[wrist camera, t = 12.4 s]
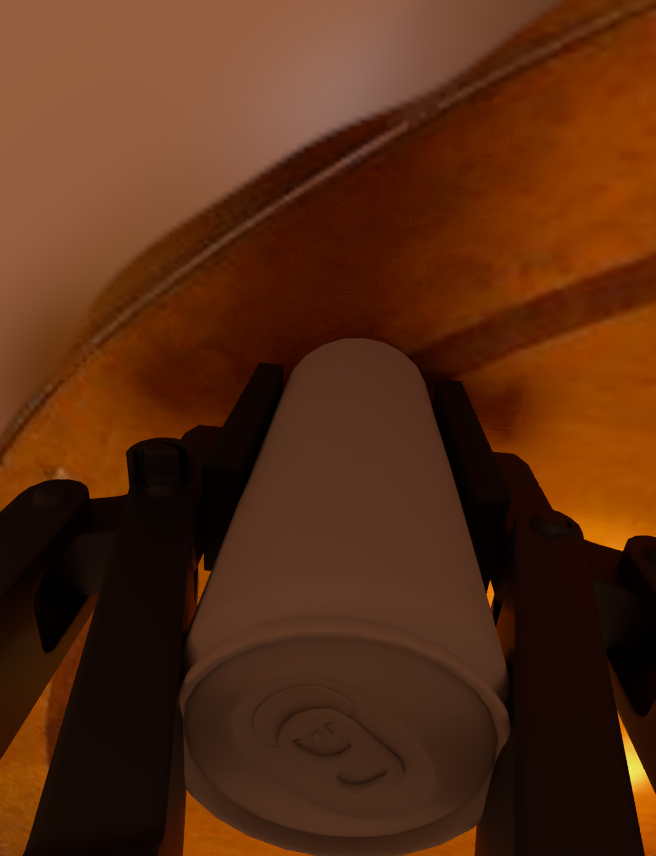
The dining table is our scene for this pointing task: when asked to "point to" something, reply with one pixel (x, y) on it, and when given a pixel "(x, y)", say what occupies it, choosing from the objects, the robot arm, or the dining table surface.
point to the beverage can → (346, 628)
